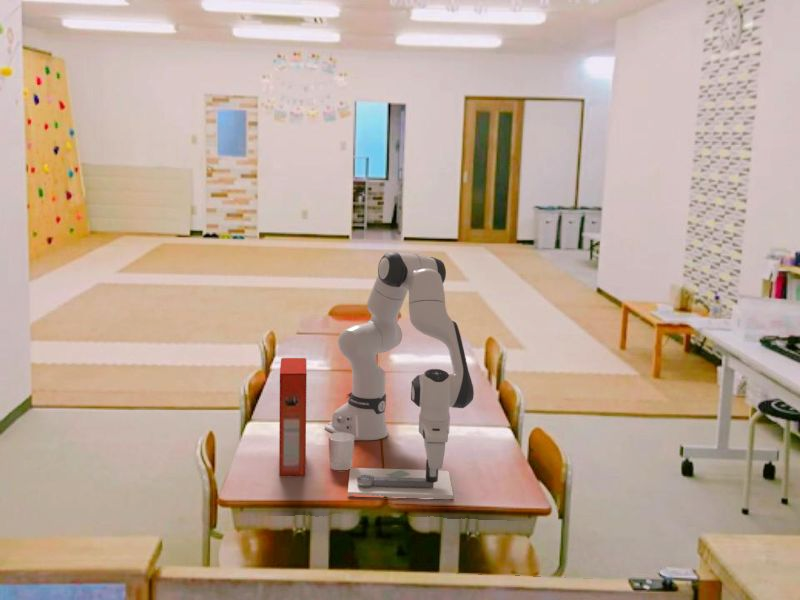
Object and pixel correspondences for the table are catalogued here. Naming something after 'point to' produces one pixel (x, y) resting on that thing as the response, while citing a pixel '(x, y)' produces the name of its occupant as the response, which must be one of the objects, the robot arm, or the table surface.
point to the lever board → (438, 491)
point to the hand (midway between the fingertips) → (431, 472)
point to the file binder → (292, 417)
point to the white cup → (341, 450)
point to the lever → (398, 480)
